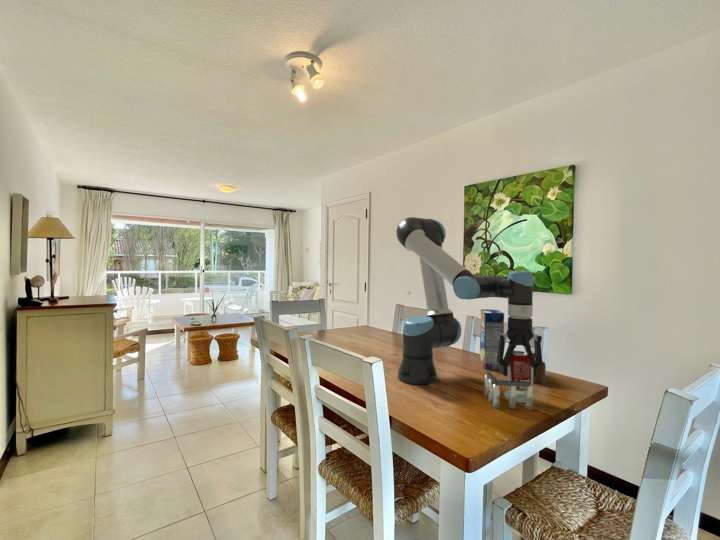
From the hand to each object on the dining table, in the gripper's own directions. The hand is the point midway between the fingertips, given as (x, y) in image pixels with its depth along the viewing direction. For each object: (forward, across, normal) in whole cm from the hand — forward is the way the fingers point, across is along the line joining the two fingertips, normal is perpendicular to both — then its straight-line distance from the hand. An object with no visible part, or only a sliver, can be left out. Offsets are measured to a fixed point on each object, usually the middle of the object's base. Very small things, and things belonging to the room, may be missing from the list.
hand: (518, 385), depth 119 cm
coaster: (+4, 0, 0) cm, 4 cm away
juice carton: (+4, +2, +37) cm, 37 cm away
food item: (+5, +14, +23) cm, 27 cm away
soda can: (+1, 0, 0) cm, 1 cm away
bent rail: (+4, -5, -4) cm, 8 cm away
